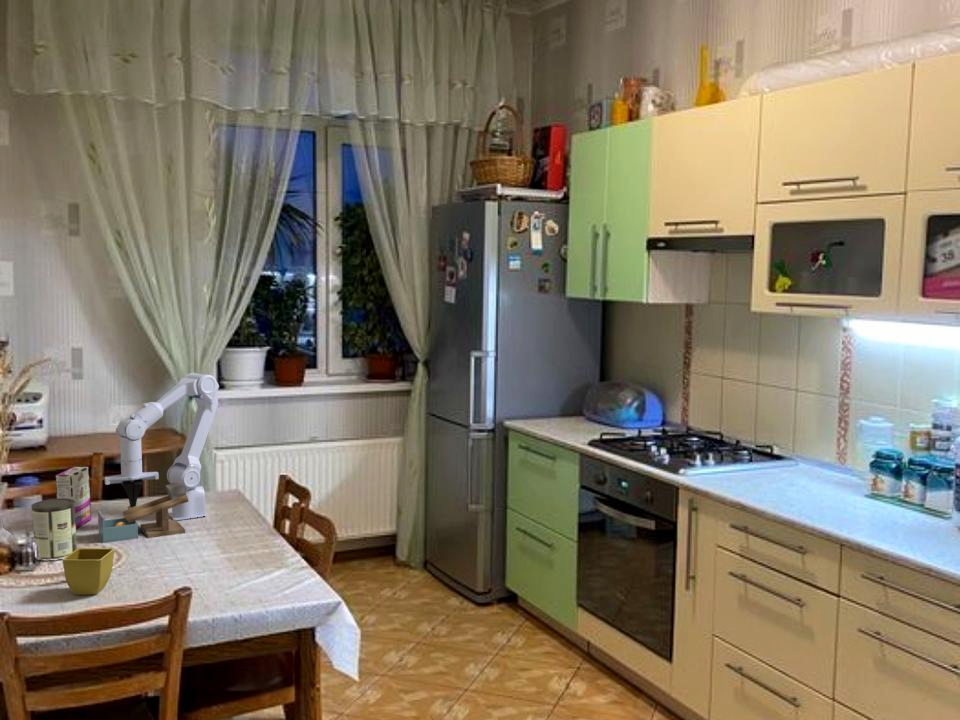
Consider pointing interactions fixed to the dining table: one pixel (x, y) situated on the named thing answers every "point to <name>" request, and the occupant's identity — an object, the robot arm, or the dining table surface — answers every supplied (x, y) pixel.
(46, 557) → the coffee can
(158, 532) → the chute stand
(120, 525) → the ball
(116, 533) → the blue open bin
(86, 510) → the candy bar box
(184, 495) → the tipping chute
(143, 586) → the dining table surface
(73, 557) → the flower pot
